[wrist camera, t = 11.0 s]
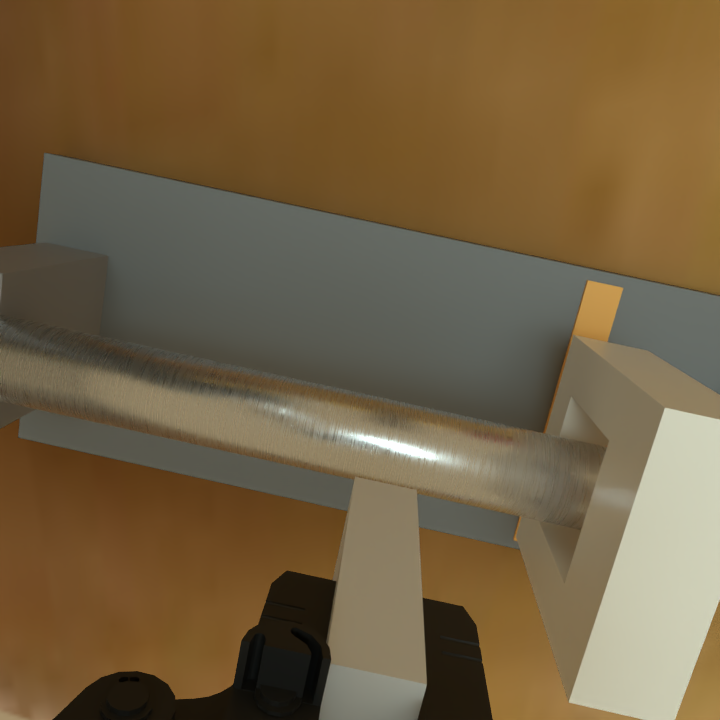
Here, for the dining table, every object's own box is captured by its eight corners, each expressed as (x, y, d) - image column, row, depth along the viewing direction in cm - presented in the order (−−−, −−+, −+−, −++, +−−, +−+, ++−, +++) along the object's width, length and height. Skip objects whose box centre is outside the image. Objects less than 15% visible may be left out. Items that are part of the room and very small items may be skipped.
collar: (515, 536, 29) (568, 702, 19) (573, 334, 27) (664, 407, 17) (584, 551, 29) (672, 726, 19) (647, 350, 27) (781, 432, 17)
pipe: (-21, 378, 26) (-79, 402, 23) (-15, 297, 25) (-74, 310, 22) (804, 561, 25) (859, 611, 22) (836, 483, 25) (897, 523, 22)
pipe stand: (34, 427, 36) (-107, 511, 26) (60, 155, 32) (-90, 134, 23) (713, 579, 35) (831, 724, 25) (811, 314, 32) (989, 364, 22)
